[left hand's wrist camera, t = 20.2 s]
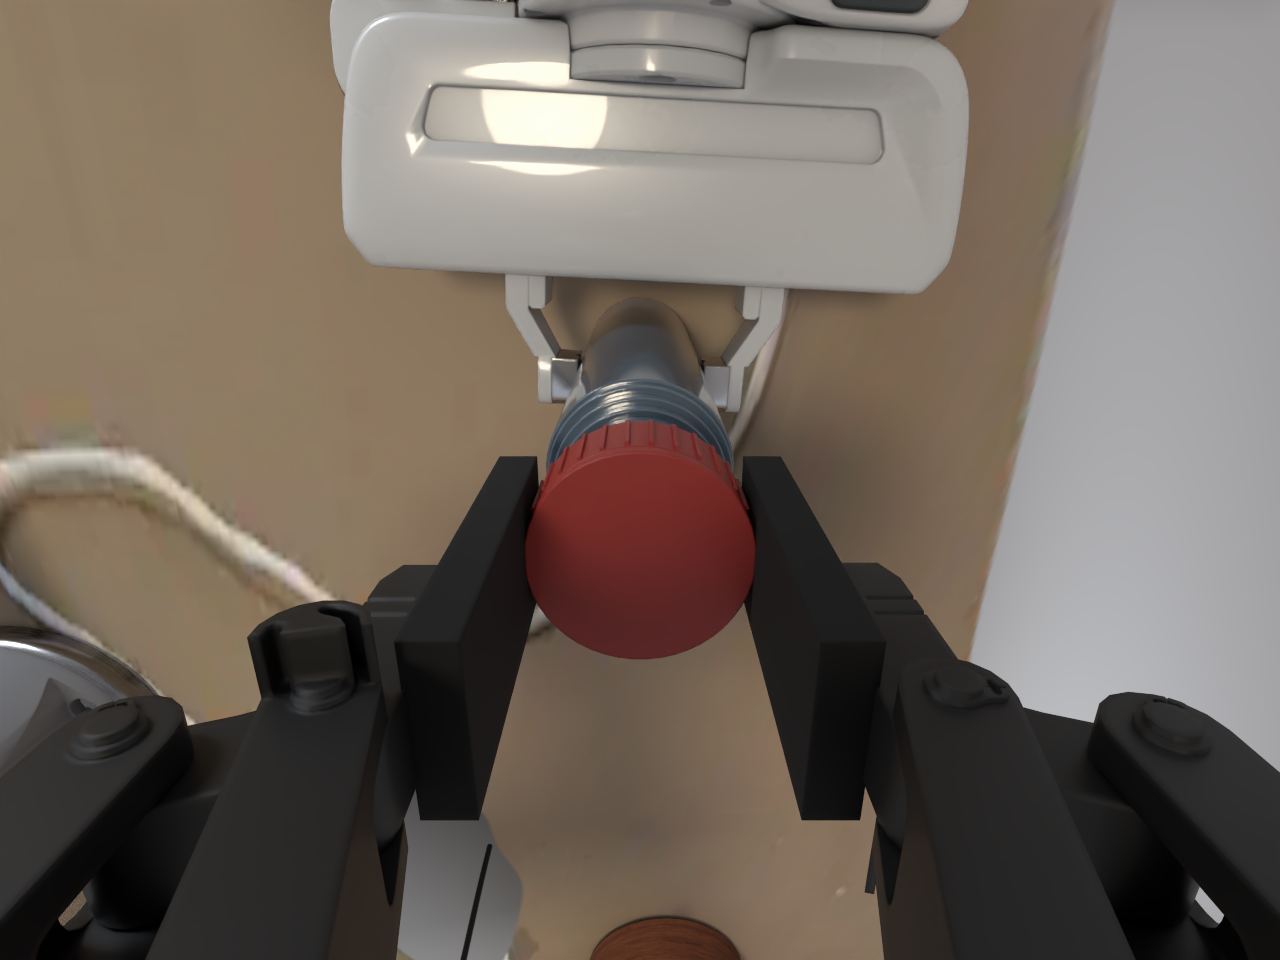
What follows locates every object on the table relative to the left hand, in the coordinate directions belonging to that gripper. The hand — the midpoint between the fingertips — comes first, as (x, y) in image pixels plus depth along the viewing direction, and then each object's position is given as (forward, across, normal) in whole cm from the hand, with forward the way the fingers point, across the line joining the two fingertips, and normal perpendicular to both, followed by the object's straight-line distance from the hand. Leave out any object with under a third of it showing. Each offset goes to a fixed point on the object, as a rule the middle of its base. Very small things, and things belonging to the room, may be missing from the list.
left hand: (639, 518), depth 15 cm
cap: (-2, 0, 0) cm, 2 cm away
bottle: (+19, 0, 0) cm, 19 cm away
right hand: (+13, 0, -1) cm, 13 cm away
